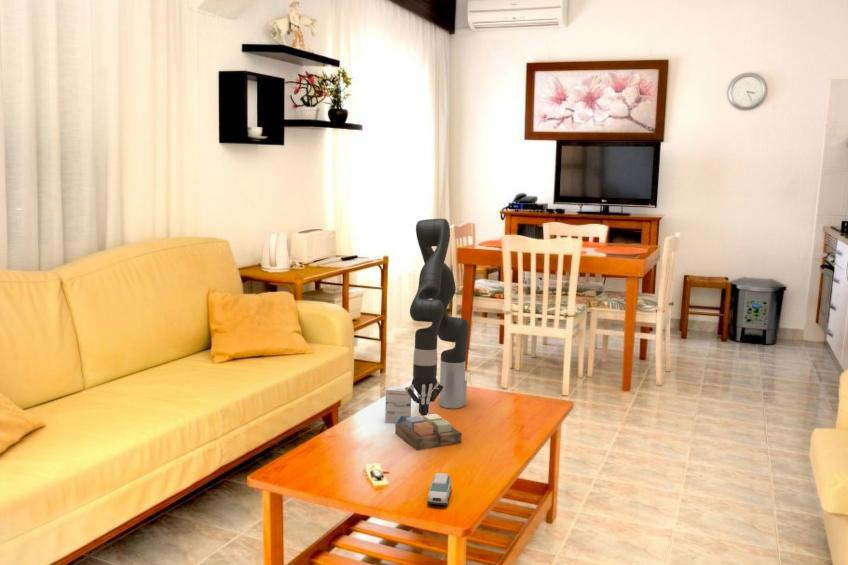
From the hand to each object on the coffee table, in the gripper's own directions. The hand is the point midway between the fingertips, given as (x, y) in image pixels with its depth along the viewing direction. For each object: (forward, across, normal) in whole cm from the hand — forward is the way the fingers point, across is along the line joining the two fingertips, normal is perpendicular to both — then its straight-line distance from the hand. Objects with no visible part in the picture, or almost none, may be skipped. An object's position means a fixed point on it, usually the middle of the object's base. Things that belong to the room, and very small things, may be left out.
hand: (423, 414), depth 240 cm
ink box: (+10, -2, -22) cm, 24 cm away
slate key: (+6, 0, -6) cm, 9 cm away
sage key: (+6, -7, 0) cm, 9 cm away
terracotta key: (+6, 0, 0) cm, 6 cm away
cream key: (+6, -7, -6) cm, 11 cm away
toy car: (+10, +14, +38) cm, 42 cm away
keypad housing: (+9, -4, -3) cm, 11 cm away
